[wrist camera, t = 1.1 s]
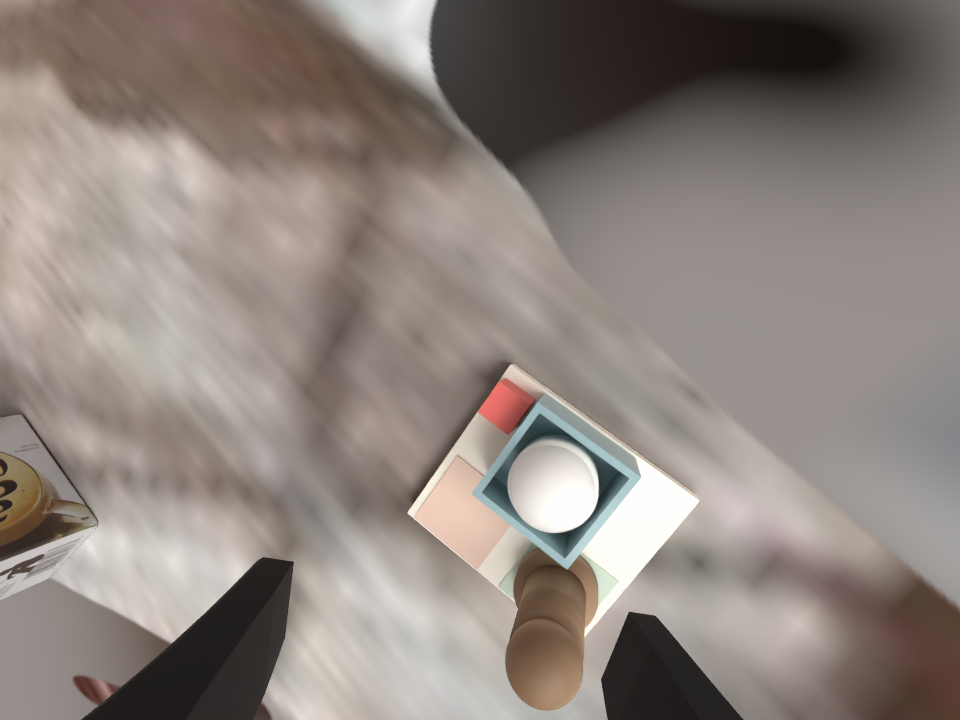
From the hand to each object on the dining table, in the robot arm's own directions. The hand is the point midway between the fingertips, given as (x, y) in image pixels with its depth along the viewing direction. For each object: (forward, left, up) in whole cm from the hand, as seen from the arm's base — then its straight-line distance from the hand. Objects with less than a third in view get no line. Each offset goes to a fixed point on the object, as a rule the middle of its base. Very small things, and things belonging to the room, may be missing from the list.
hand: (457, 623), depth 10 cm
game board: (-1, +1, -12) cm, 12 cm away
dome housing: (-1, -1, -11) cm, 11 cm away
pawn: (-4, +3, -11) cm, 12 cm away
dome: (-1, -1, -10) cm, 10 cm away
